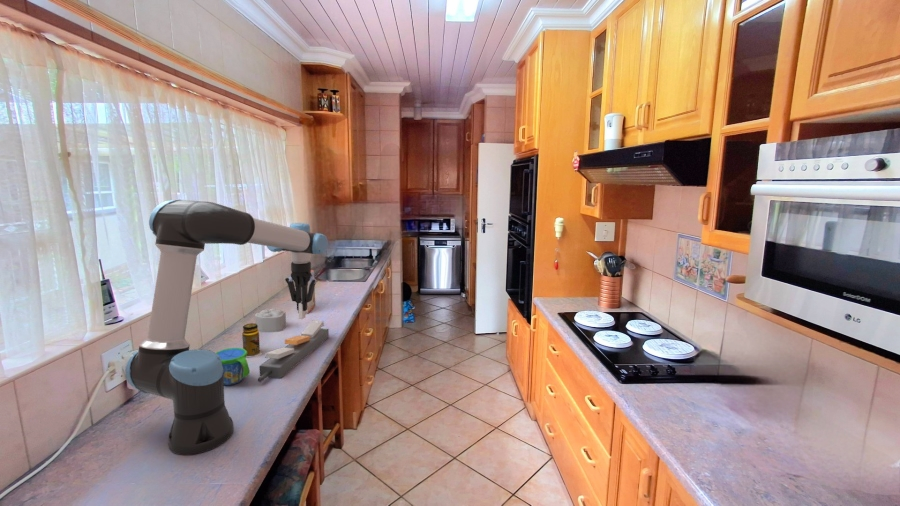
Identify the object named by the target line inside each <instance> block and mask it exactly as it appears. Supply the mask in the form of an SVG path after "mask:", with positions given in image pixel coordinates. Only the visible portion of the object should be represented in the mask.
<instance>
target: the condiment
mask: <svg viewBox="0 0 900 506" xmlns="http://www.w3.org/2000/svg"><path fill="white" fill-rule="evenodd" d="M241 337H242V349H245V350H246V351H247V356H246V358H251V357H256V356H261V355H263V353H262V351H261V348H260V331H258V325H257V324H255V322H254V323H246V324H244V325H243V326H242V335H241Z"/></svg>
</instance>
